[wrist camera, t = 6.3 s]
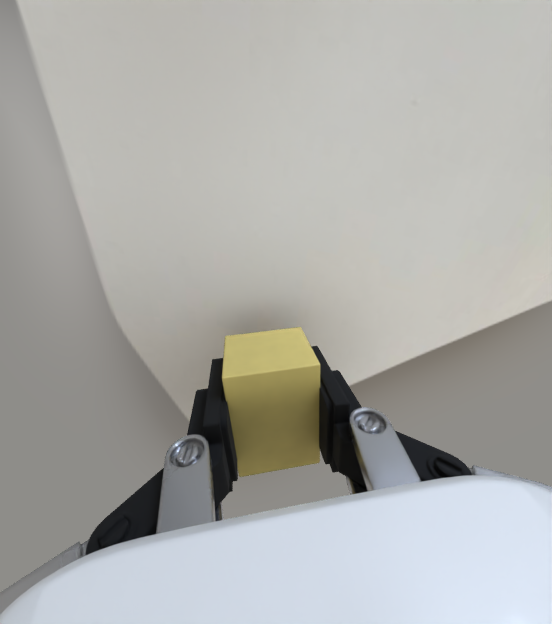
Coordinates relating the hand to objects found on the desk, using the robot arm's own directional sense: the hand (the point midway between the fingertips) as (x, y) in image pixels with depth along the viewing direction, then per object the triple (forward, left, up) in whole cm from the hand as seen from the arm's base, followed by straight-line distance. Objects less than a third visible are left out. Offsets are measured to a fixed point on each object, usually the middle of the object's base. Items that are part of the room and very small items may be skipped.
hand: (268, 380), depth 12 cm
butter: (0, 0, 0) cm, 0 cm away
